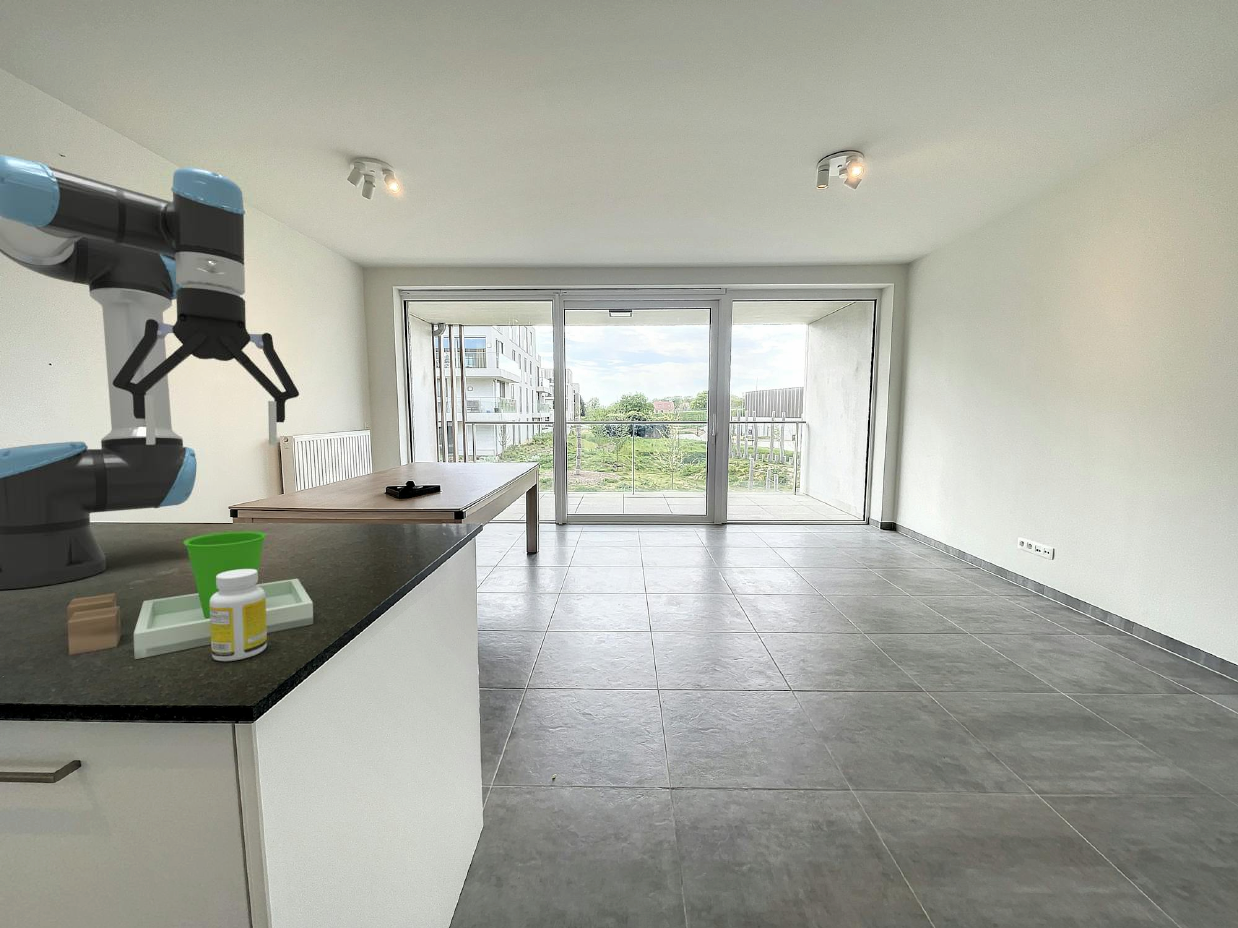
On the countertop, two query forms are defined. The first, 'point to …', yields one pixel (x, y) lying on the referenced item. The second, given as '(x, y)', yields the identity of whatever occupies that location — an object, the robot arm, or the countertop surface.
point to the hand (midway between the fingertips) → (215, 444)
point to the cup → (221, 558)
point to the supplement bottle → (237, 616)
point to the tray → (186, 627)
